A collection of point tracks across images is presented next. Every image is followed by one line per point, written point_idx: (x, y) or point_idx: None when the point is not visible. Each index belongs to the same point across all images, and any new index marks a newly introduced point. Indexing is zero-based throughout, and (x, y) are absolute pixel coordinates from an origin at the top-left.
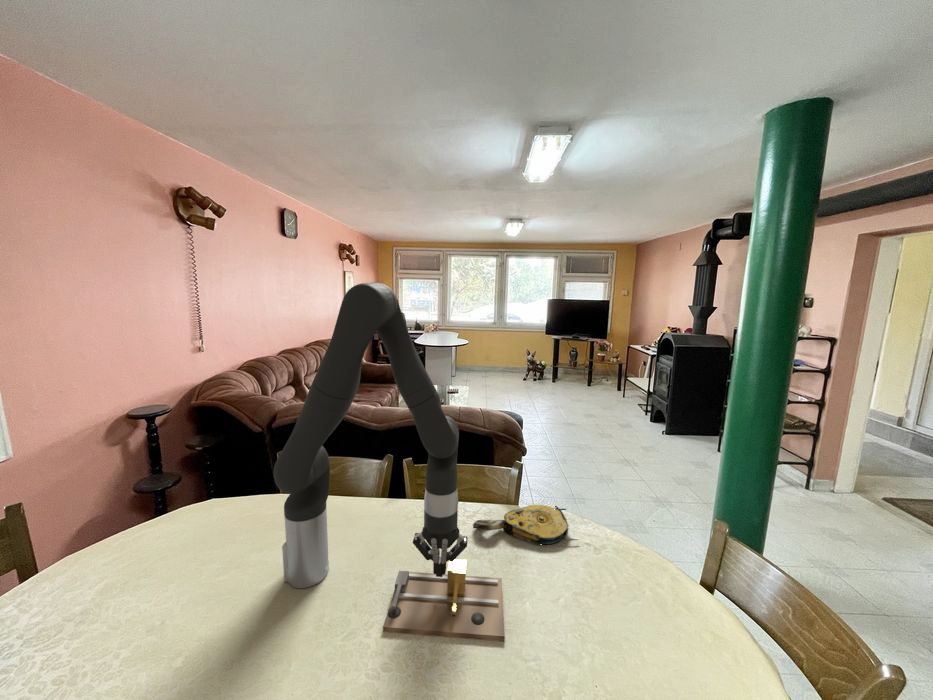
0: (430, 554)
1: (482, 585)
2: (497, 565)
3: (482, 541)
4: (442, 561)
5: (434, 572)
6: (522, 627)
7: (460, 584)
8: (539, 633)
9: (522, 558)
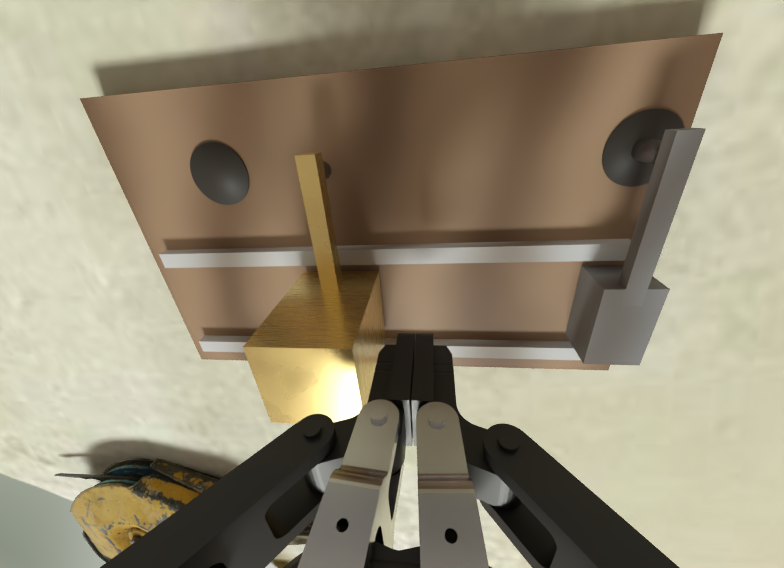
0: (489, 472)
1: (255, 328)
2: (246, 402)
3: None
4: (381, 415)
5: (444, 351)
6: (73, 179)
7: (299, 303)
8: (8, 162)
9: (183, 424)
